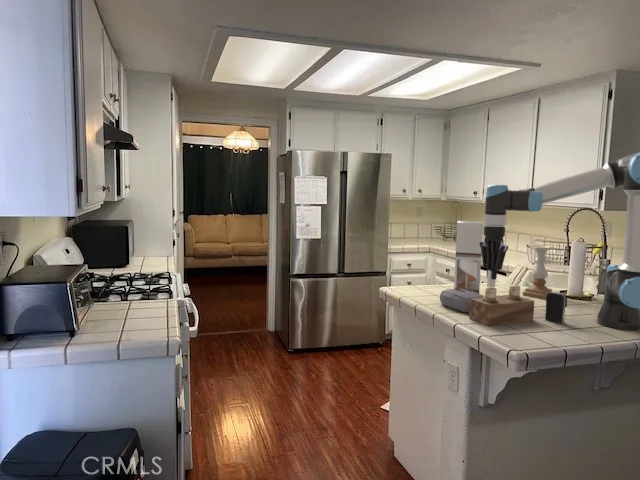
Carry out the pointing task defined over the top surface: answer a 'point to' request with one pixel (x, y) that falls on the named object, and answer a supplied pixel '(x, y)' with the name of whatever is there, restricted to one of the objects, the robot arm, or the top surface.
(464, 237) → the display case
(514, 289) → the inner peg
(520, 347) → the top surface
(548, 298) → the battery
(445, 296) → the soft grey pack
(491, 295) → the outer peg
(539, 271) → the candle holder
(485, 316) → the collar block
